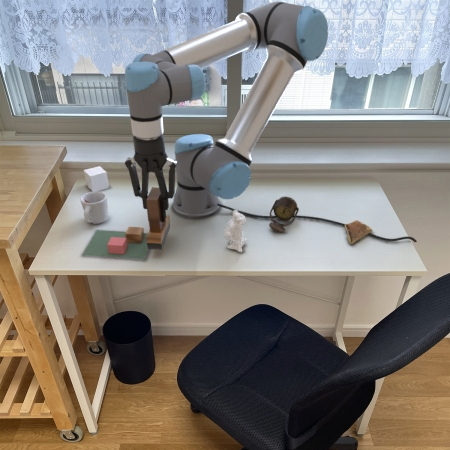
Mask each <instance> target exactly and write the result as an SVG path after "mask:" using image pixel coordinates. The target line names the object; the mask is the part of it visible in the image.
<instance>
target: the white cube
mask: <svg viewBox="0 0 450 450" xmlns="http://www.w3.org/2000/svg"><path fill="white" fill-rule="evenodd" d="M83 173H84V178H85V182H86V187H87V188H88V189H89V190H90V191H91V192H93V191H98V192H101V191H104V190H108V189H110V184H109V178H108V172H107V171H106V170H105V169H104V168H103V167H102V166H100V165H98V166H94V167H91V168H86V169H83Z"/></svg>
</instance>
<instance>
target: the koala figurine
mask: <svg viewBox="0 0 450 450" xmlns="http://www.w3.org/2000/svg"><path fill="white" fill-rule="evenodd" d="M237 210H238V209H236V210H233V211H232V214H231V215H232V218H231V219H230V220H229V221H228V222H227V223H226V224H225V226H224V229H223V235H224V238H225V239H226V240H228V241H229V244H228V245H227V246H226V248H227V249H230V250H235V251H237V252H239V253H243V249H242V248H243V246H244V245H245V243H247V241H248V239H247V238H246V237H243V230H244V229H243V225H244V224H245V223H246V222H247V221H248V220H247V219H246V215H244V214H241V213H238V211H237Z"/></svg>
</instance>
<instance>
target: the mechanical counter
mask: <svg viewBox="0 0 450 450" xmlns="http://www.w3.org/2000/svg"><path fill="white" fill-rule="evenodd" d="M299 210H300V208H299V207H298V203H297V202H296V200H295V199H294V198H292V197H290V196H281V197H279V198H278V199H276V200H275V201H274V202H273V205H272V206H271V209H270V211H269V216H270V218H269V219H270V220H271V222H269V224H268V226H269V228H270V229H271V230H272V231H273V232H276V233H284V232H286V228H285V227H289V226H291V225H292V224H293V223H294V222H295V221H296V219H297V218H296V216H298V213H299ZM272 212H273V214H274V216H276V217H277V218H276V219H278V220H281V221H284V222H287V221H290V222H288V223H281V222H279V221H276V219H275V218H273V217H272V216H273V215H272ZM293 215H295V216H294V218H293Z"/></svg>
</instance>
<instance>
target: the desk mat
mask: <svg viewBox="0 0 450 450" xmlns="http://www.w3.org/2000/svg"><path fill="white" fill-rule="evenodd" d="M125 233H126V231H115V230H114V231H113V230H99V229H98V230H97V229H96V231H95V233H94V235H93V236H92V238H91V239H90V242H89V243H88V245H87V246H86V248H85V249H84V252H83V253H82V256H91V257H93V256H94V257H106V258H125V259H138V260H139V259H140V260H145V259H146V257H147V254H148V251H149V249H148V247H147V239H146V237H147V234H148V232H147V233H146V232H144V235H145V236H144V238H143V241H142V243H129V242H127V244H128V247H127V249H126V252H125V254H112V253H109V251H108V246H107V244H108V242H109V240H110V239H111V237H120V238H126V236H125Z"/></svg>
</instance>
